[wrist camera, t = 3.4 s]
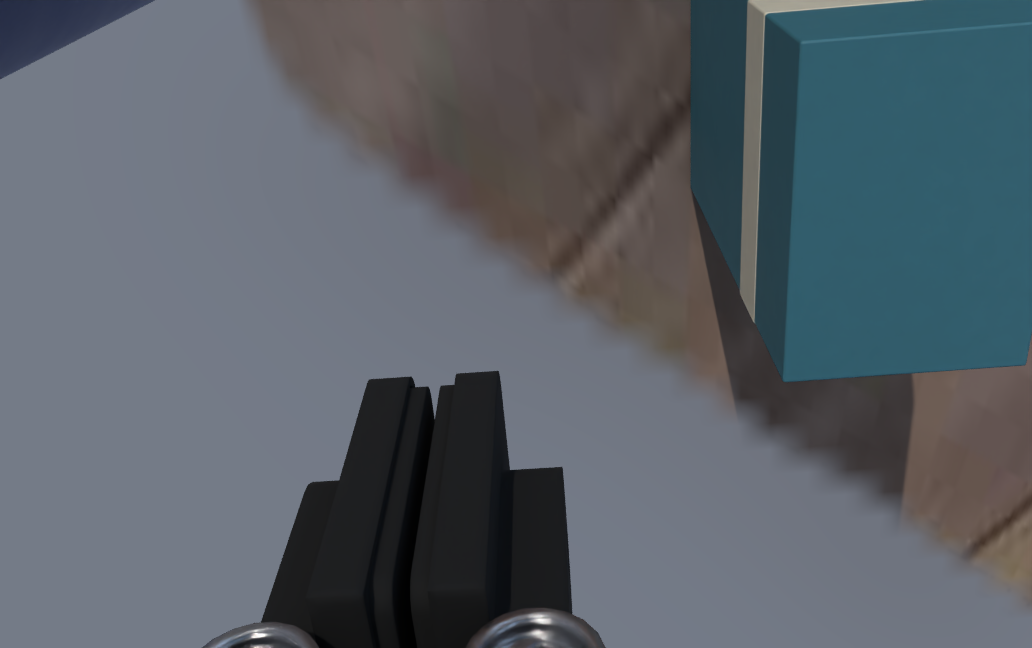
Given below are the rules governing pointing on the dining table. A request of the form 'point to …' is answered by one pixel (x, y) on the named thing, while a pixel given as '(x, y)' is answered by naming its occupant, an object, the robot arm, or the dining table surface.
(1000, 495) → the dining table surface
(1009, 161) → the carton
